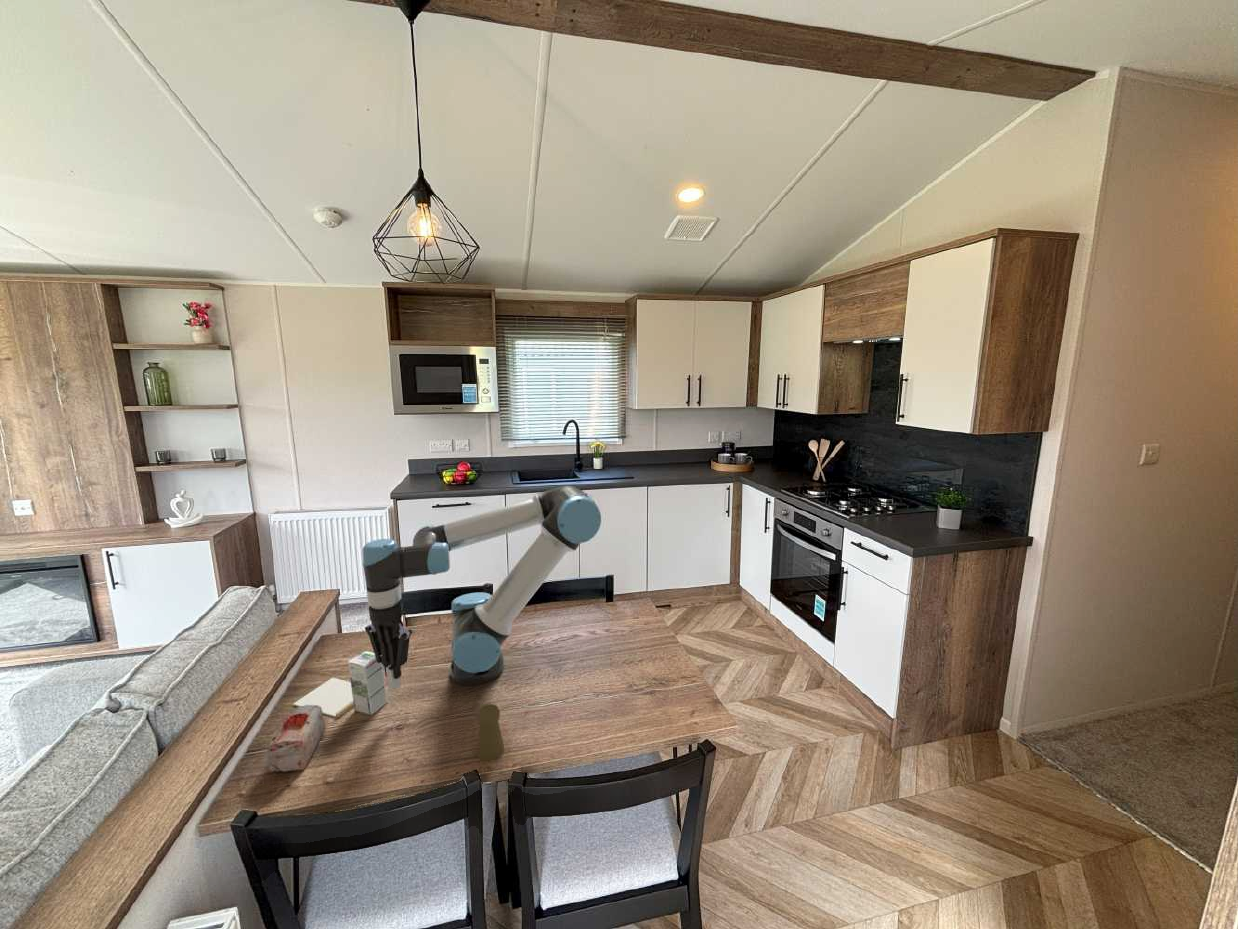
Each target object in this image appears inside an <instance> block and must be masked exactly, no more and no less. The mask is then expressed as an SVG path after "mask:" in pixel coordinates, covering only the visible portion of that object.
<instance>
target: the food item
mask: <svg viewBox="0 0 1238 929" xmlns="http://www.w3.org/2000/svg"><path fill="white" fill-rule="evenodd" d="M281 721H282V724H283V725H282V728H281V730H280V731H279V733H278V730H276V731H275V733H274V735H273V736H272V737H271V739H270V742H269V743H270V744H269V746H268V749H267V752H266V754H265V756H266V757H267V765H268V770H269V771H270V772H271V773H274V771H275V772H280V771H281V772H283V773H284V772H289V771H303V770H305V769H306V767H307V765H308V764H309V762H310V760H311V758H312V756H313V754H314V751H315V750H316V748H317V746H318V745H319V742H320V740H321V739H322V737H323V735H324V732H325V730H326V724H325V719H324V714H322V709H321V707H320V706H318V705H305V706H300V707H298V706H296V707H295V708H294V709H293V712H292V713H291V714H290V716H289V717H287V718H286V717H283V718H282V719H281ZM276 735H277V736H276Z"/></svg>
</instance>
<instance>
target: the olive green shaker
mask: <svg viewBox="0 0 1238 929" xmlns="http://www.w3.org/2000/svg"><path fill="white" fill-rule="evenodd" d="M500 717H501V712H500V708H499V707H498V706H497V705H496V704H492V703H489V704H488V703H487V704H484V705H482V706H480V707H479V708H478V710H477V712H476V722H477V724H478V725H479V726H478V727H479V728H478V739H477V740H478V742H477V754H476V755H477V757H478V759H479V760H481V761H484V762H489V761H495V760H496V759H499V757H501V756H502V754H504V752H505V745H504V741H503V738H502V737H503V736H502V731H501V728H500V723H499V720H500Z"/></svg>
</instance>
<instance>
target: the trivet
mask: <svg viewBox="0 0 1238 929" xmlns="http://www.w3.org/2000/svg"><path fill="white" fill-rule="evenodd" d="M292 704H293V706H295V707H300V706H305V705H318V706H320V707H321V709H322V714H323V715H327V716H330V717H333V718H336V719H340V718H341V717H342V716H344V715H345V714H347V712H349V711H350V710H352V708H354V702H353V695H352V688H351V681H348V680H343V679H339V678H336V677H331V678H330V679H328V680H326V681H325V682H324V683H322V684H321V685H319V686H318V687H316V688H315V689H314V690H311V692H309V693H307V694H306V695H304V696H303V697H301V698H299V699H298V700H297V701H295V702H294V703H292Z"/></svg>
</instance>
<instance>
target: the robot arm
mask: <svg viewBox="0 0 1238 929" xmlns="http://www.w3.org/2000/svg"><path fill="white" fill-rule="evenodd" d="M601 514H602V513H601V511H600V508H599V507H598V505H597V504H596V502H595V500H593V499H592V498H591V497H590V496H588V495H587V494H586V493H585V492H584V491H583V490H582V489H581V488H578V487H576V486H571V485H565V486H560V487H556V488H552V489H548V490H546V491H545V490H544V491H542V492H539V493H536V494H534V496H533V497H532V498H531V499H527V500H524V501H521V502H517V503H514V504H511V505H510V504H509V505H507V506H504V507H500V508H496V509H493V510H490V511H486V512H483V513H480V514H479V513H478V514H476V515H472V516H469V517H465V518H461V519H458V520H455V521H453V522H447V523H445V524H441V525H437V526H435V525H430V524H429V525H425V526H423V527H420V528H419V529H418V530H417V532H416V533H415V535H414V537H413V540H412V545H410V546H409V545H407V546H400V547H399V546H398V544H397V542H396V540H394V539H391V538H380V539H375V540H372V541H369V542H367V543H365V545H364V546H363V547H362V561H363V563H362V567H363V571H364V580H365V588H366V598H367V605H368V613H369V620H370V622H371V623H370V624H368V625H367V626H365V627H364V630H365V632H366V634H367V635H368V637H369V640H370V644H371V648H372V650H373V653H374V654H375V657H376V660H377V662H378V663H380V662H381V663H382V667H384V668H383V669H384V675H385V677H386V679H387V681H386V682H387V689H388V690H387V691H388V692H391V693H395V691H397V690H398V689H399V688H400V687H401V686H402V681H401V677H402V666H403V665H404V664H406V663H407V661H408V656H409V648H410V647H409V646H410V639H411V636H412V635H413V630H412V629H406V628H405V627H404V625H405V624H404V622H403V620H402V617H403V615H404V606H403V600H402V588H401V579H404V578H405V579H406V578H412V577H419V576H420V577H423V576H429V575H437V574H442V573H447V572H448V571H449V570H450V568H451V562H450V561H451V557H450V552H452V551H454V550H457V549H458V550H459V549H461V548H464V547H465V548H466V547H468V546H472V545H475V544H478V543H481V542H484V541H485V542H486V541H487V540H491V539H495V538H498V537H502V536H505V535H507V534H511V533H514V532H517V531H521V530H524V529H527V528H531V527H535V526H538V525H540V530H541V533H540V534H539V535H538V536H537V537H536V539H535V540H534V542H533V543H532V544H531V545H530V547H529V548H528V549H527V550H526V552H525V553H524V554H523V556H522V557H521V558H520V559H519V560H518V561H517V563H516V564H515V566H514V567H513V568H512V569H511V571H510V572H509V573H508V575H507V576H506V577H505V578H504V580H503V581H502V582H501V583H500V585H499V586H498V587H497V588H496V590H494V592H493V593H492V594H490V593H488V592H482V591H480V592H471V593H466V594H462V595H460V596H457V597H456V598H454V599H453V600H452V601H451V609H450V611H451V616H452V617H451V618H452V635H451V636H452V637H451V638H452V639H451V649H450V651H451V654H452V660H451V662H450V663H451V664H450V676H451V678H452V680H453V682H455V683H458V684H460V685H463V686H474V685H475V686H477V685H481V684H484V683H487V682H490V681H492V680H494V679H495V678H497V677H498V676H499V675H500V674H501V673H502V672H503V670H504V668H505V660H504V655H503V654H502V652H501V650H502V648H501V647H502V645H504V643H505V641H507V639H508V638H509V636H510V635H511V634H512V630H513V629H512V623H513V622H514V621H515V619H516V618H517V617H518V616H519V614H520V612H521V611H522V610H523V608H525V606H526V605H527V604H528V602H529V601H530V600H531V599H532V597H534V595H535V593H536V592H537V591H538V590H539V588H540V587H541V586H542V584H544V582H545V581H546V580H547V578H548V577H549V576H550V574H551V573H552V572H553V570H554V569H555V568H556V567H557V565H558V564H559V563H560V562H561V560H562V559H563V558H564V556H565V555H566V554H567V553H571V552H575V551H577V549H578V548H579V546H581V544H582V543H587V542H589V541H590V540H592V539H593V538H594V537H595V536H596V535H597V534H598V532H599V531H600V528H601V524H602V515H601ZM380 655H381V656H380Z"/></svg>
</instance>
